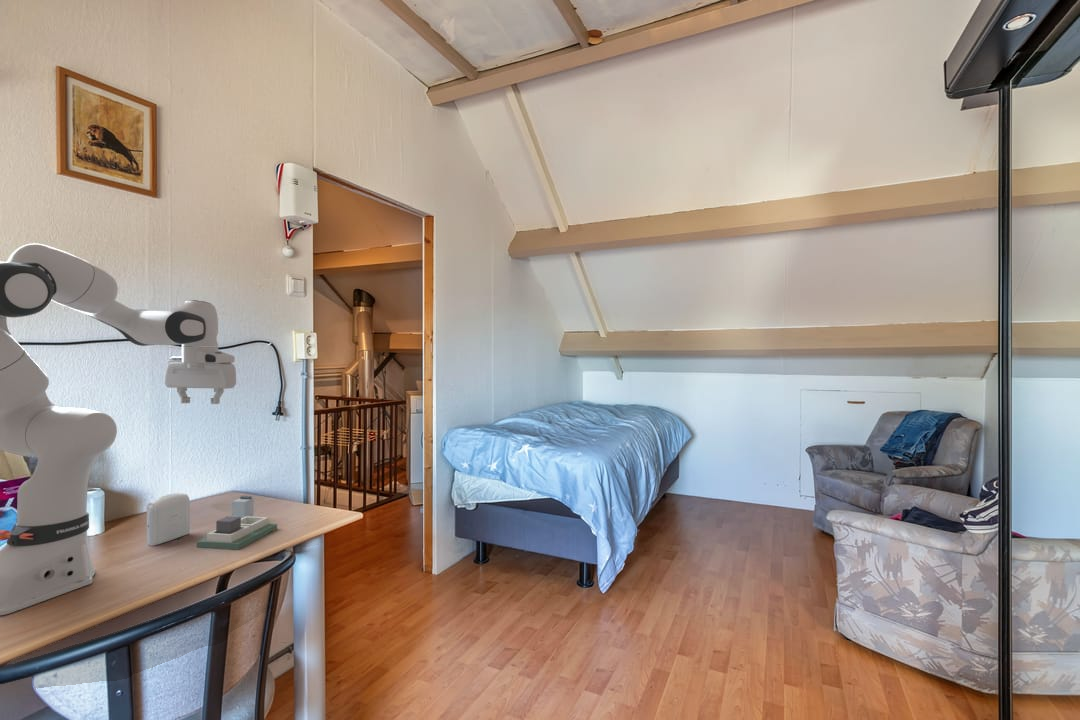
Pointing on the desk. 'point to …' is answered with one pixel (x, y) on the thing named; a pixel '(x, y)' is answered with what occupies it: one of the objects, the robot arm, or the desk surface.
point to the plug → (243, 507)
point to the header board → (236, 532)
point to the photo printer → (168, 518)
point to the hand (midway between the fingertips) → (200, 403)
